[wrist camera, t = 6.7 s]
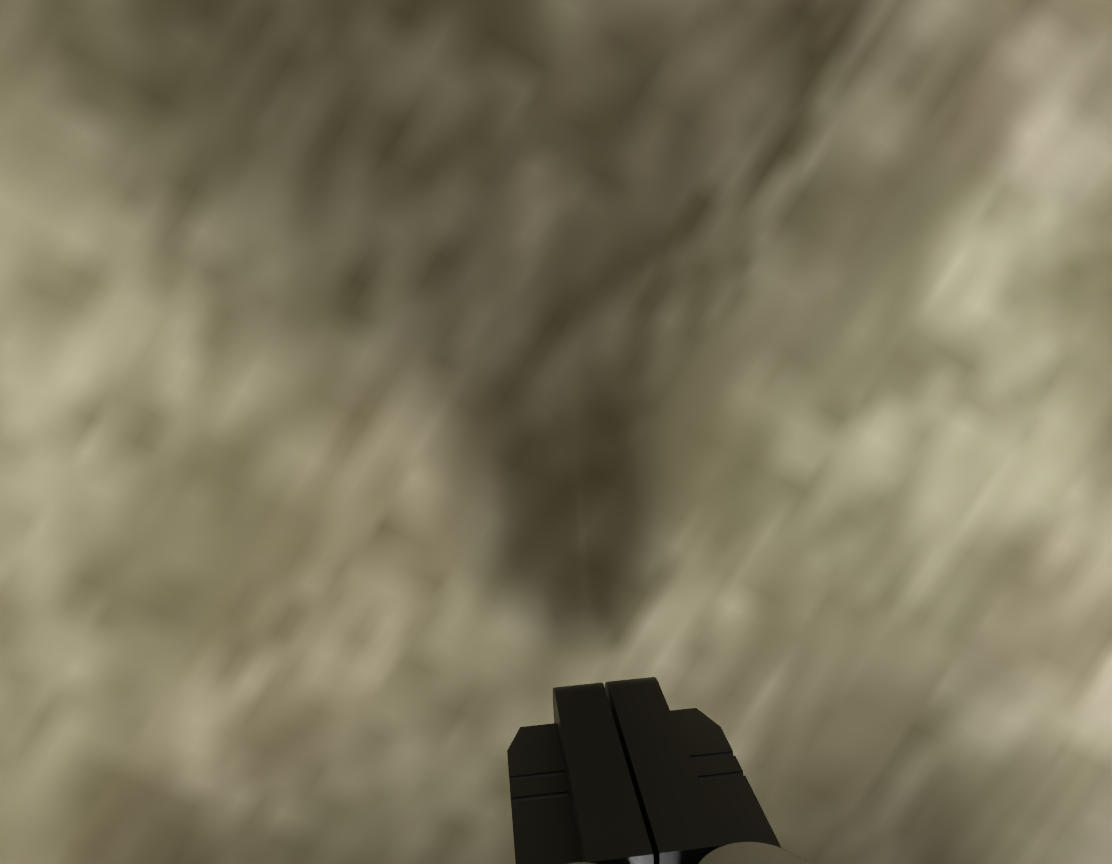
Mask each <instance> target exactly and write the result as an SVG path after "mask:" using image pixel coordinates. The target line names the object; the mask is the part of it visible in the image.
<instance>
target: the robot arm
mask: <svg viewBox="0 0 1112 864" xmlns="http://www.w3.org/2000/svg"><path fill="white" fill-rule="evenodd" d="M553 707H554V723H555V724H546V725H537V726H527V727H520V729H519V731H518V733H517V734H516V736H515V738H514V740H513V742H512V743H511V745H510V747H509V749H508V751H507V753H508V766H509V779H510V793H511V806H512V819H513V833H514V846H515V859H516V864H807V863H806V862H805V861H804V860H802V859H801V858H800V857H798V856H797V855H795V854H793V853H791V852H789V851H788V850H785V849H783V848H781V846H780V844H779V842H778V840H777V838H776V836H775V834H774V832H773V830H772V828H771V826H770V824H769V822H768V820H767V818H766V816H765V814H764V812H763V810H762V808H761V806H760V804H759V802H758V800H757V798H756V796H755V794H754V792H753V790H752V788H751V786H750V784H749V782H748V781H747V779H746V777H745V776H743V771H742V769H741V767H740V765H739V763H738V761H737V759H736V757H735V756H733V751H732V749H731V747H730V745H729V743H728V741H727V739H726V737H725V735H724V733H723V731H722V729H721V727H720V726H719V725H717V724H716V723H715V722H713V721H712V720H711V719H710V718H708V717H707V716H706V715H704V714H703V713H702V712H701V711H699V710H698V709H697V708H692V709H683V710H673V711H670V710H669V707H668V705H667V703H666V700H665V698H664V695H663V693H662V690H661V688H660V686H659V683H658V681H657V679H656V678H655V677H650V678H640V679H630V680H621V681H611V682H606V683H605V688H604V685H603V683H594V684H584V685H575V686H565V687H556V688H553Z"/></svg>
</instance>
